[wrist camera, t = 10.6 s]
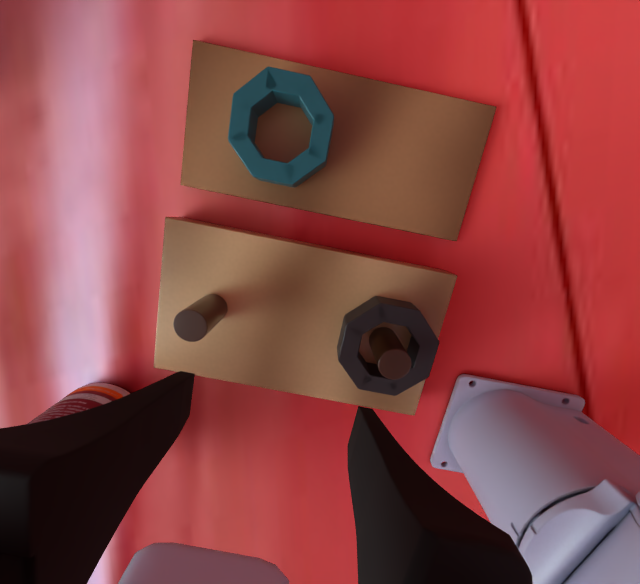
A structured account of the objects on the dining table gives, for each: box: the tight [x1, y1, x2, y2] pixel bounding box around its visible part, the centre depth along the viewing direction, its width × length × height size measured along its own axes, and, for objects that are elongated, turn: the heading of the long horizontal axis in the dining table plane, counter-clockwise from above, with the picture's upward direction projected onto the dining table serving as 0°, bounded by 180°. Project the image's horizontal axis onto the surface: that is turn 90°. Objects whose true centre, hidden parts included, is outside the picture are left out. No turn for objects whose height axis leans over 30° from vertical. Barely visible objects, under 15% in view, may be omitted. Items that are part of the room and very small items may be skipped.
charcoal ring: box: [337, 296, 439, 396], centre depth 19 cm, size 6×6×2 cm
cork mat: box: [181, 40, 496, 241], centre depth 19 cm, size 18×8×1 cm, turn 79°
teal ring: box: [228, 66, 334, 188], centre depth 18 cm, size 6×6×2 cm
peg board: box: [154, 217, 457, 415], centre depth 19 cm, size 18×10×6 cm, turn 79°
